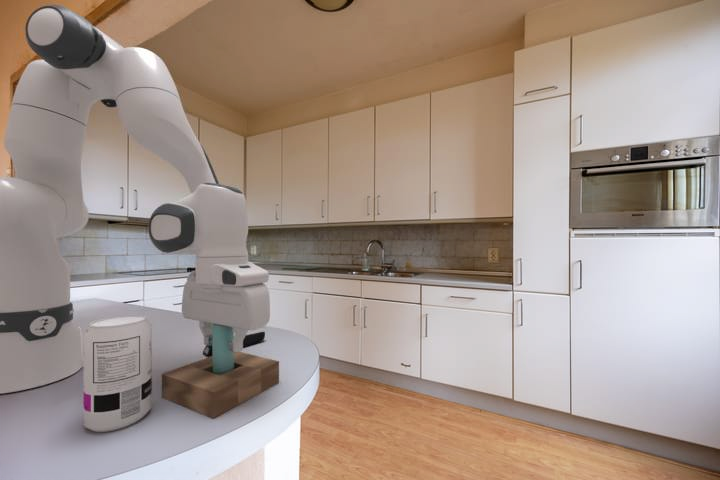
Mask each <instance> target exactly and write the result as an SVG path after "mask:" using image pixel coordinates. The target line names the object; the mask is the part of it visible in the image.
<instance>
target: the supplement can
mask: <svg viewBox="0 0 720 480" xmlns="http://www.w3.org/2000/svg"><path fill="white" fill-rule="evenodd" d="M152 333H153V331H152V324H151V323H150V321H149V319H148V316H146V315H142V314H130V315H119V316H118V315H117V316H112V317H106V318H102V319H96V320H94V321H92V322H90V323H89V326H88V327H87V329H86V331H85V332H84V334H83V335H82V342H83V356H84V366H83V425H84V427H85V428H86V429H89V430H90V431H91V432H92V431H93V432H95V433H105V432H111V431H116V430H119V429H123V428H126V427H129V426H131V425H133V424H135V423H137V422H138V421H139V420H141V419H143V418H144V417H145V416H146V415H147V414H148V413H149V411H150V410H151V409H152V404H153V403H152V399H153V397H152V395H153V394H152V393H153V391H152V390H153V389H152V388H153V387H152V385H153V384H152V383H153V381H152V378H153V377H152V372H153V371H152V370H153V369H152V368H153V367H152V365H153V364H152V362H153V361H152V358H153V357H152V355H153V354H152V351H153V349H152V344H153V343H152V342H153V341H152V340H153V339H152V337H153V335H152Z"/></svg>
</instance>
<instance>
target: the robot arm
mask: <svg viewBox="0 0 720 480" xmlns="http://www.w3.org/2000/svg"><path fill="white" fill-rule="evenodd" d="M24 28H25V40H26V42H27V45H28V46H29V48H30V49H31V50H32V51H33V52H34V53H35V54H36V55H37V56H38V57H39V58H40V59H36V60H32V61H31V62H29V63H28V64H26V65H27V66H26V67H25V69H24V70H23V72H22V74H21V76H20V78H19V81H18V83H17V85H16V87H15V91H14V93H13V94H14V95H13V97H12V101H11V105H10V110H9V115H8V119H7V120H8V121H7V124H6V130H5V135H4V139H3V144H4V149H5V151H6V152H7V154H8V155H9V156H10V158H11V161H12V165H13V167H14V173H15V177H10V176H0V394H7V393H14V392H20V391H24V390H25V391H26V390H28V389H33V388H37V387H38V388H39V387H41V386H45V385H48V384H51V383H54V382H58V381H60V380H62V379H65V378H67V377H70V376H72V375H74V374H75V373H77V372H79V370H81V368H84V342H83V332H82V331H83V330H82V328H81V327H80V326H78V325H76V324H75V323H73V321H72V320H73V319H74V313H75V310H74V309H75V308H74V306H73V305H74V304H73V302H71V267H70V264H69V263H68V261H66V259H64V257H63V256H62V253H61V251H60V248H59V245H58V241H57V239H60V238H65V237H67V236H71V235H73V234H76V233H78V232H80V231H81V230H83V229H84V228H85V227H86V226H87V224H88V221H89V218H90V212H89V208H88V207H87V205H86V204H85V201H84V193H83V182H82V181H83V180H82V168H81V167H82V159H83V157H82V156H83V151H84V145H85V140H86V135H87V128H88V124H89V116H90V111H91V108H92V107H93V105H94V104H95V103H97V102H99V101H100V102H101V103H102V104H103V105H104V106H105V107H108V108H111V109H112V108H117V112H118V116H119V119H120V123H121V124H122V126H123V128H124V131H126V134H127V135H128V137H130V139H131V140H132V141H133V142H135V143H136V144H137V145H138V146H140V147H141V148H143V149H144V150H146V151H148V152H149V153H152V154H153V155H156V156H157V157H158V158H160V159H162V160H163V161H164V162H166V163H168V164H169V165H170V166H172V167H173V168H174V169H176V170H177V171H178V172H179V173H180V174H181V175H182V177H183V178H184V180H185V182H186V185H187V187H188V189H189V192H190V194H189V195H188V196H185V197H183V198H181V199H177V200H176V201H172V202H170V203H167V202H165V203H163V204H160V205H159V206H158V207H157V208H156V209H155V210H153V212H152V213H151V214H150V217H149V220H148V226H147V229H148V230H147V231H148V236H149V239H150V241H151V243H152V244H153V246H154V247H155V248H156V249H157V250H158V251H160V252H163V253H166V254H171V255H187V254H189V255H195V270H191V271H190V273H189V274H188V276H187V277H186V282H185V284H184V286H183V291H182V299H181V314H182V316H183V318H185V319H187V320H193V321H199V322H198V327H199V329H200V332H201V334H202V336H203V345H205V346H206V345H208V346H212V324H219V325H224V326H229V327H233V333H234V338H233V341H230V342H229V346H230V347H229V350H230V351H233V352H241V351H243V349H244V347H243V340H244V338H245V336H246V335H248V332H249V331H253V332H254V331H256V330H259V329H263V328H265V327H266V326H267V325H268V323H269V322H270V319H271V318H270V317H271V305H270V304H271V299H270V291H269V288H268V287H267V285H266V284H265V283H268V281H269V279H270V278H269V277H270V275H269V271H268V270H266V269H264V268H262V267H260V266H258V265H256V264H254V263H253V262H251V261H249V252H248V249H247V238H248V235H249V216H248V215H249V213H248V204H247V199H246V196H245V195H244V193H243V192H242V191H241V190H240V189H238V188H237V187H233V186H230V185H224V184H220V182H219V180H218V177H217V175H216V173H215V170H214V167H213V166H212V163H211V161H210V159H209V158H210V157H209V156H208V153H206V150H205V149H204V147H203V145H202V144H201V142H200V141H199V139H198V138H197V136H196V134H195V132H194V130H193V129H192V126H191V125H190V122H189V120H188V118H187V116H186V113H185V109H184V108H183V104H182V101H181V98H180V94H179V92H178V88H177V86H176V84H175V82H174V79H173V77H172V74H171V73H170V71H169V69H168V67H167V65H166V63H165V62H164V61H163V59H162V58H161V57H159V56H158V55H157V54H156V53H155V52H153V51H151V50H149V49H146V48H143V47H139V46H128V47H123V46H122V45H121V44H120V43H118V42H117V41H116V40H115V39H113V38H111V37H109V35H107V34H105V33H104V32H103V31H101V30H100V29H99V28H97V27H96V26H94V25H93V24H92V23H91V22H90V21H88V20H87V18H85V17H84V16H81V15H79V14H78V13H77V12H74V11H73V10H71V9H69V8H66V7H64V6H62V5H59V4H58V5H57V4H48V5H45V6H44V5H43V6H40V7H38V8H36V9H35V10H34V11H33V12H32V13H31V14H30V15H29V17H28V18H27V19H26V23H25V27H24Z"/></svg>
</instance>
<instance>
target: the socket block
mask: <svg viewBox="0 0 720 480" xmlns="http://www.w3.org/2000/svg"><path fill="white" fill-rule="evenodd" d="M279 383H280V360H275V359H272V358H266V357H262V356H259V355H256V354H255V355H253V354H250V353H247V352H241V351H239V352H234V370H231V371H229V372H227V373H224V374H222V375H218V374H214V373H213V356H211V357H210V356H208V357H206V358H203V359H200V360H197V361H194V362H192V363H189V364H186V365H183V366H180V367H177V368H174V369H172V370H168V371H165V372H164V373H161V398H164V399H165V400H168V401H170V402H173V403H174V404H175V403H176V404H177V405H180V406H182V407H184V408H188V409H189V410H192V411H195V412H197V413H199V414H202V415H204V416H206V417H209V418H211V419H215V418H217V417H219V416H221V415H224V413H227V412H228V411H230V410H231V409H234V408H235V407H237V406H239V405H240V404H243V403H244V402H246V401H248V400H250V399H251V398H254V397H255V396H257V395H259V394H260V393H262V392H264V391H266V390H267V389H270V388H271V387H274V385H277V384H279Z"/></svg>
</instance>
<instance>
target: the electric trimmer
mask: <svg viewBox="0 0 720 480" xmlns="http://www.w3.org/2000/svg"><path fill="white" fill-rule="evenodd" d="M265 335H266V331H259V332H255V333H254V332H253V333H250V334H246V336H245V338H244V340H243V348H246V347H248V346H251V345H255V344H257V343H259V342H262V341H264V340H265V338H266V337H265ZM202 355H203V356H205V357H206V358H208V357H211V356H213V349H212V346H208V345H205V346H204V349H203V351H202Z"/></svg>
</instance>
